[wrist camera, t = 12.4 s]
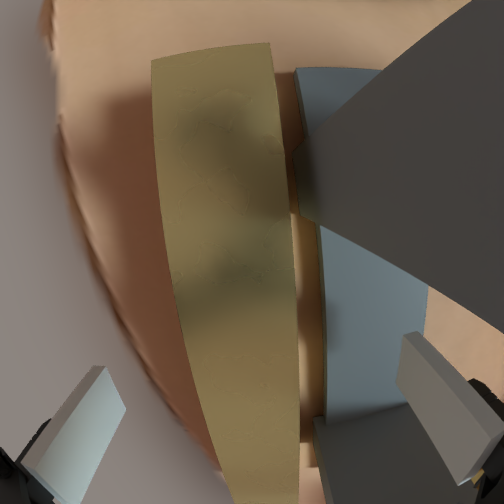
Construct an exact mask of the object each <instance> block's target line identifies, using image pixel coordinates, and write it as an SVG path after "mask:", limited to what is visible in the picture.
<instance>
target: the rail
mask: <svg viewBox="0 0 504 504" xmlns="http://www.w3.org/2000/svg"><path fill="white" fill-rule="evenodd" d="M151 86H152V116H153V134H154V148H155V161H156V172H157V182H158V191H159V200H160V208H161V216H162V224H163V231H164V238H165V244H166V251H167V257H168V263H169V269H170V275H171V280H172V286H173V291H174V296H175V301H176V306H177V311H178V316H179V321H180V325H181V330H182V334H183V339H184V343H185V347H186V351H187V356H188V360H189V364H190V368H191V371H192V375H193V379H194V383H195V386H196V390H197V394H198V397H199V401H200V404H201V408H202V411H203V414H204V418H205V421H206V424H207V427H208V431H209V434H210V437H211V440H212V443H213V446H214V449H215V452H216V455H217V458H218V461H219V463H220V466H221V469H222V472H223V475H224V477H225V480H226V483H227V485H228V488H229V490H230V493H231V495H232V498H233V500H234V503H235V504H298V495H299V456H300V395H299V352H298V326H297V305H296V287H295V270H294V255H293V242H292V229H291V217H290V205H289V194H288V184H287V174H286V164H285V155H284V146H283V137H282V129H281V121H280V113H279V105H278V97H277V90H276V83H275V76H274V69H273V62H272V56H271V49H270V43H257V44H244V45H234V46H225V47H218V48H211V49H204V50H198V51H193V52H187V53H182V54H177V55H173V56H168V57H164V58H160V59H155V60H152V61H151Z"/></svg>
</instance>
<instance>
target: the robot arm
mask: <svg viewBox="0 0 504 504" xmlns="http://www.w3.org/2000/svg"><path fill="white" fill-rule="evenodd" d="M396 384H397V386H398V388H399V389H400V391H401V392H402V394H403V395H404V397H405V398H406V400H407V402H408V403H409V405H410V406H411V408H412V409H413V411H414V413H415V414H416V416H417V417H418V419H419V421H420V422H421V424H422V425H423V427H424V429H425V430H426V432H427V434H428V435H429V437H430V439H431V440H432V442H433V444H434V445H435V447H436V449H437V450H438V452H439V454H440V455H441V457H442V459H443V461H444V462H445V464H446V466H447V468H448V469H449V471H450V473H451V475H452V476H453V478H454V480H455V482H456V484H457V486H459V485H461V484H463V483H464V482H466V481H468V480H469V479H471V478H473V477H474V476H475V475H476V474H477V473H478V471H479V470H480V469H481V467H482V469H483V470H484V473H483V474H482V476H481V477H480V478H479V479H478V481H477V482H476V483H475V485H474V487H473V488H476V487H477V486H478V485H479V484H480V486H479V490H478V494H477V497H476V501H475V504H504V404H503V403H502V402H501V401H500V400H499V399H497V396H496V395H495V394H494V393H492V392H491V390H490V389H489V388H488V387H487V386H486V385H485V384H484V383H482V382H480V381H478V380H476V379H474V378H473V379H471V380H469V381H466V380H465V379H464V377H463V376H462V375H461V374H460V373H459V372H458V371H457V370H456V369H455V368H454V367H453V366H452V365H451V364H450V363H449V362H448V361H447V360H446V359H445V358H444V357H443V356H442V355H441V354H440V353H439V352H438V351H437V350H436V349H435V348H434V347H433V346H432V345H431V344H430V343H429V342H428V341H427V340H426V339H425V338H424V337H423V336H422V335H421V334H420V333H419V332H418V331H415V332H411V333H407V334H404V335H403V338H402V346H401V354H400V360H399V367H398V373H397V378H396ZM125 411H126V408H125V406H124V404H123V402H122V400H121V398H120V396H119V394H118V392H117V389H116V387H115V385H114V383H113V381H112V379H111V377H110V374H109V372H108V370H107V367H106V366H93V367H92V368H91V369H90V370H89V372H88V373H87V374H86V375H85V377H84V378H83V379H82V380H81V382H80V383H79V384H78V385H77V387H76V388H75V389H74V391H73V392H72V393H71V394H70V396H69V397H68V398H67V400H66V401H65V402H64V403H63V405H62V406H61V407H60V409H59V410H58V411H57V413H56V414H55V415H54V417H53V418H52V419H49V420H48V421H46V422H45V423H43V424H42V425H41V427H40V428H39V429H38V431H37V432H36V433H37V434H35V435H34V436H33V437H32V440H30V441H29V443H28V444H27V446H26V447H25V448H24V450H23V451H22V453H21V454H20V455H19V457H18V458H17V460H16V461H15V462H13V461H12V460H11V458H10V457H9V456H8V455H7V454H6V452H5V451H4V450H3V449H2V448H1V447H0V504H55V503H54V502H53V501H52V500H53V498H54V497H55V498H56V499H57V500H58V501H59V502H61V503H62V504H80V503H81V501H82V499H83V497H84V495H85V492H86V490H87V488H88V486H89V484H90V482H91V480H92V478H93V475H94V473H95V471H96V469H97V467H98V465H99V463H100V461H101V459H102V457H103V455H104V453H105V451H106V449H107V446H108V445H109V443H110V441H111V439H112V437H113V435H114V433H115V431H116V429H117V427H118V425H119V423H120V421H121V419H122V417H123V415H124V413H125Z"/></svg>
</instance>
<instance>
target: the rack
mask: <svg viewBox="0 0 504 504" xmlns="http://www.w3.org/2000/svg"><path fill="white" fill-rule="evenodd" d="M293 77H294V82H295V87H296V92H297V98H298V103H299V109H300V115H301V121H302V127H303V133H304V139H305V140H304V141H303V142H302V143H301V144H300V145H299V146H298V147H297V148H296V149H295V150H294V151H293V152H292V157H293V164H294V172H295V179H296V187H297V195H298V203H299V211H300V215H301V216H303V217H305V218H307V219H309V220H311V221H313V222H315V226H316V236H317V247H318V259H319V272H320V287H321V305H322V327H323V364H324V406H323V416H318V417H313V445H314V449H315V454H316V458H317V463H318V467H319V472H320V477H321V481H322V486H323V491H324V495H325V500H326V504H475V501H476V497H477V494H478V490H477V488H473V487H474V483H473V482H472V480H471V479H469V480H468V481H466V482H464V483H463V484H461V485H459V486H457V484H456V482H455V480H454V478H453V476H452V475H451V473H450V471H449V469H448V468H447V466H446V464H445V462H444V461H443V459H442V457H441V455H440V454H439V452H438V450H437V449H436V447H435V445H434V444H433V442H432V440H431V439H430V437H429V435H428V434H427V432H426V430H425V429H424V427H423V425H422V424H421V422H420V421H419V419H418V417H417V416H416V414H415V413H414V411H413V409H412V408H411V406H410V405H409V403H408V402H407V400H406V398H405V397H404V395H403V394H402V392H401V391H400V389H399V388H398V386H397V384H396V378H397V373H398V367H399V360H400V354H401V346H402V338H403V335H404V334H407V333H411V332H415V331H418V332H419V333H420V334H421V335H422V336H423V333H424V325H425V317H426V307H427V296H428V285H429V286H431V287H432V288H434V289H436V290H437V291H439V292H440V293H442V294H444V295H445V296H447V297H449V298H450V299H452V300H453V301H455V302H457V303H458V304H460V305H461V306H463V307H464V308H466V309H467V310H469V311H471V312H472V313H474V314H475V315H477V316H478V317H480V318H481V319H483V320H484V321H486V322H487V323H489V324H490V325H492V326H493V327H495V328H496V329H498V330H499V331H501V332H502V333H503V334H504V0H472V1H471V2H469V3H468V4H466V5H465V6H464V7H462V8H461V9H459V10H458V11H457V12H455V13H454V14H453V15H451V16H450V17H449V18H447V19H446V20H445V21H443V22H442V23H441V24H439V25H438V26H437V27H435V28H434V29H433V30H432V31H430V32H429V33H428V34H426V35H425V36H424V37H423V38H421V39H420V40H419V41H418V42H416V43H415V44H414V45H413V46H411V47H410V48H409V49H408V50H407V51H405V52H404V53H403V54H402V55H400V56H399V57H398V58H397V59H396V60H394V61H393V62H392V63H391V64H390V65H388V66H387V67H386V68H385V69H384V70H373V69H359V68H335V67H308V68H296V70H295V72H294V75H293Z"/></svg>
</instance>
